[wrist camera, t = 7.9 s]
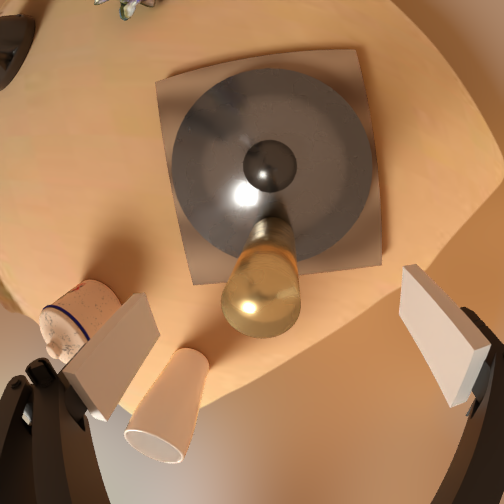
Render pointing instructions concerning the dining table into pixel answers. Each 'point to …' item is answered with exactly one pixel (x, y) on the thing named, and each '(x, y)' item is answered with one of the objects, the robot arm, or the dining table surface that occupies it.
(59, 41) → the dining table surface
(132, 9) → the passion flower
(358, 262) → the base plate
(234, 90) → the handwheel
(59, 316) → the teacup with lid
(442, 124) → the dining table surface
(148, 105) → the dining table surface
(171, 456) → the drinking glass
